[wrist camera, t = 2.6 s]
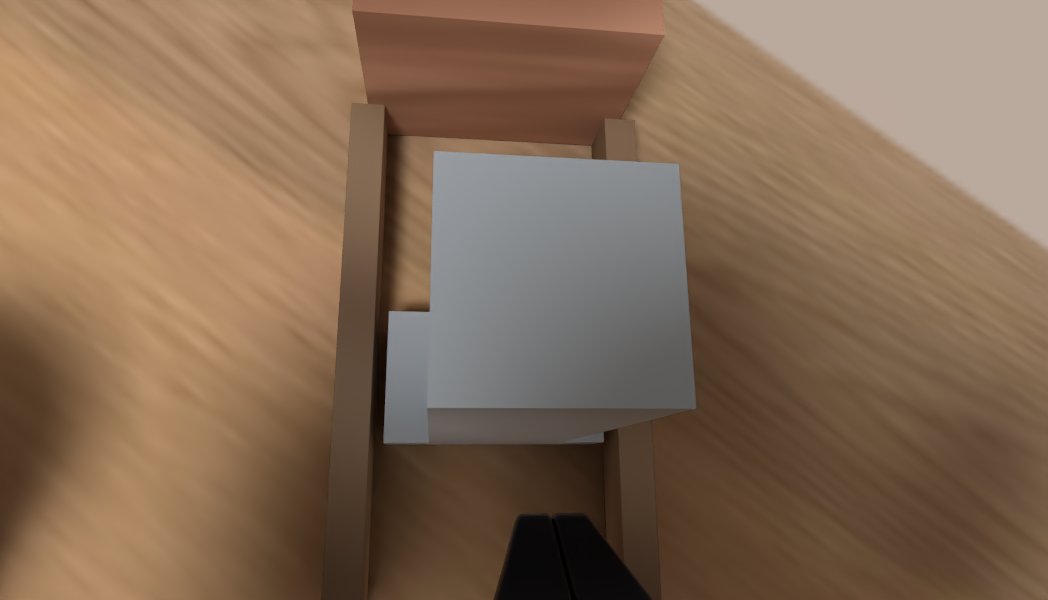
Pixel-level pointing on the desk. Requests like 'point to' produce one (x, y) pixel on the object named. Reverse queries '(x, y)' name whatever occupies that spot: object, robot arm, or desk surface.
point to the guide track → (491, 114)
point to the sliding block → (544, 305)
